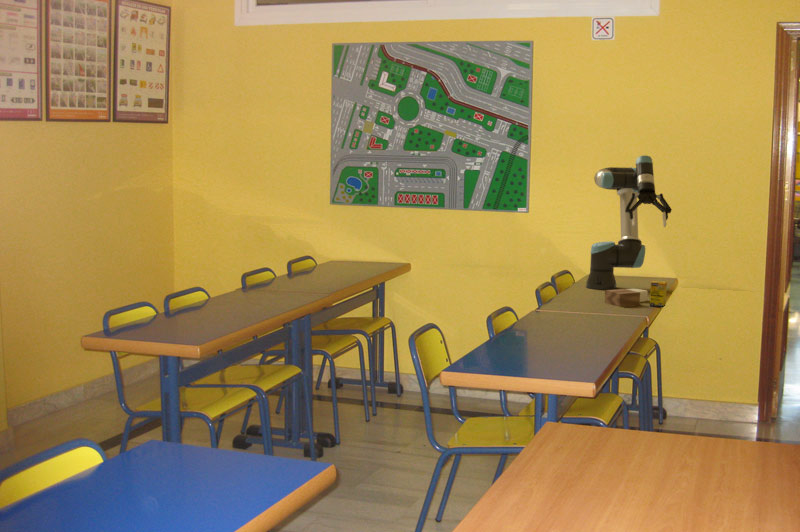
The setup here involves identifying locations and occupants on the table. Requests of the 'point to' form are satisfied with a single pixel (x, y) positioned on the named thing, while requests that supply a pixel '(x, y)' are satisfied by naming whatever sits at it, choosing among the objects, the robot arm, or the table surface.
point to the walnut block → (622, 297)
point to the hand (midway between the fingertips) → (649, 225)
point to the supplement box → (658, 294)
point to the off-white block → (641, 294)
